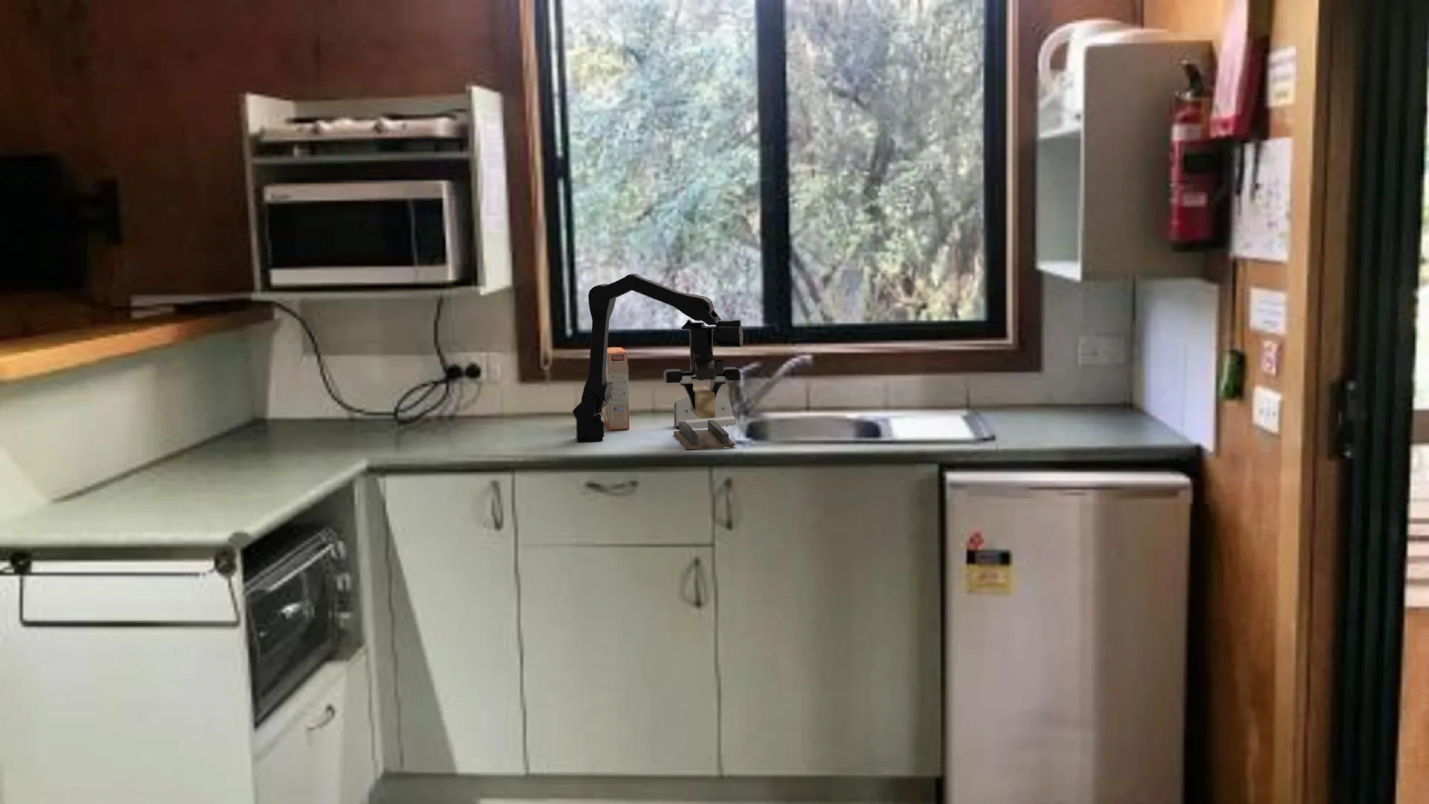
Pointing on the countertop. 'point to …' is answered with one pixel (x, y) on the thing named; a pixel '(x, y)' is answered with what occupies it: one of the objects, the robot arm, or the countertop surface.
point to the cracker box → (617, 390)
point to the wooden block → (703, 402)
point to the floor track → (703, 436)
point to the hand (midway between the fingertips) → (702, 409)
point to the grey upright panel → (721, 417)
